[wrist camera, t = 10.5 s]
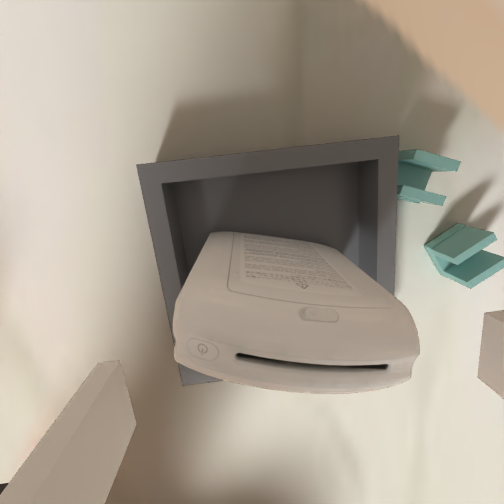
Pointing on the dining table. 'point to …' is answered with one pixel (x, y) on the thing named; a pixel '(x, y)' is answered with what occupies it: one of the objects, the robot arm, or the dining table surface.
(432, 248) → the clip
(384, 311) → the photo printer
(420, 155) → the clip
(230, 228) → the grey square tray
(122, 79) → the dining table surface
